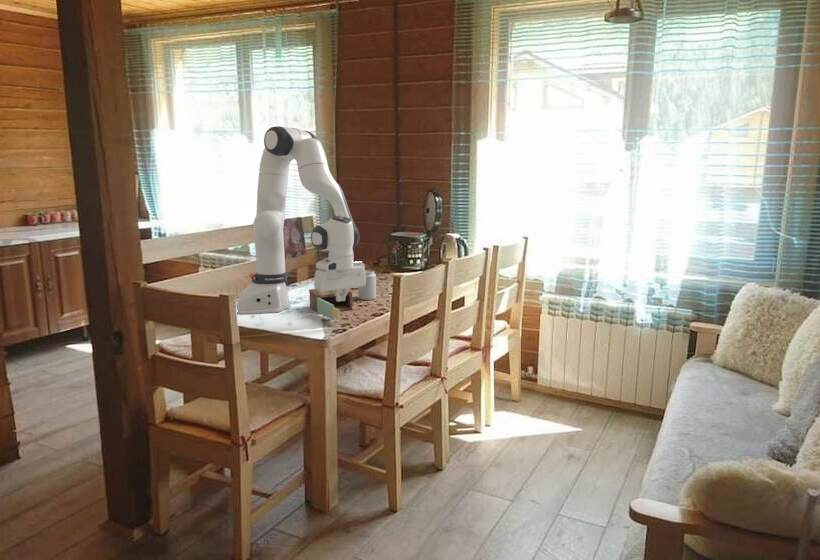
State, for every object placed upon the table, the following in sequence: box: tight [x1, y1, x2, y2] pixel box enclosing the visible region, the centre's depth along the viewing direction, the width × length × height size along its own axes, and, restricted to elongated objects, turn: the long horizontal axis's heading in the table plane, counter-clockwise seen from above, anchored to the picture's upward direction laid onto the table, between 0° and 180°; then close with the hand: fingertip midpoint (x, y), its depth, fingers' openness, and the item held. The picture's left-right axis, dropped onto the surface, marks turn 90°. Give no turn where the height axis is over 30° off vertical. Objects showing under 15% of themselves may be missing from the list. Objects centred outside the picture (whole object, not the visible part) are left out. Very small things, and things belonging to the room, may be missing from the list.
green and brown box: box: [308, 288, 353, 314], centre depth 248 cm, size 14×12×7 cm
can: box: [357, 269, 377, 301], centre depth 265 cm, size 8×8×12 cm
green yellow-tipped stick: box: [316, 298, 341, 320], centre depth 231 cm, size 19×1×5 cm, turn 30°
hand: (340, 300), depth 224 cm, fingers closed
